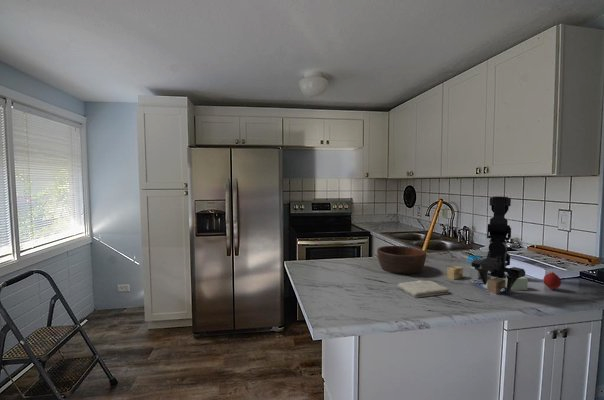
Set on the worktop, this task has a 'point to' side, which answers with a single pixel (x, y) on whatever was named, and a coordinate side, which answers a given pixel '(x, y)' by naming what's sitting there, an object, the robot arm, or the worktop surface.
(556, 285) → the red rounded lump
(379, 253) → the wooden bowl
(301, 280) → the worktop surface
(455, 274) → the oak brick
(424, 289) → the washcloth
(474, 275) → the grey brick
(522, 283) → the sage brick
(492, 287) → the walnut brick
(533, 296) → the worktop surface
